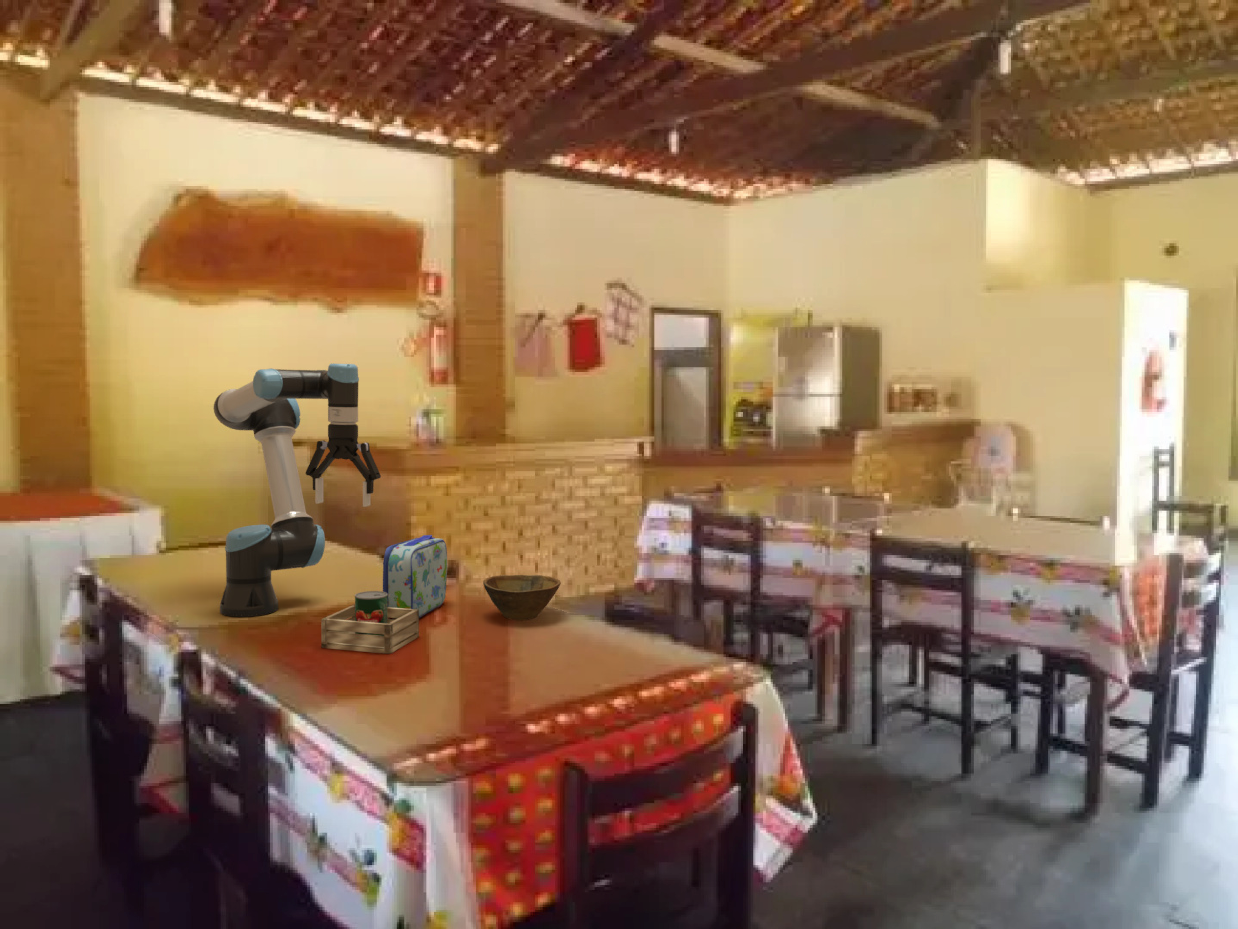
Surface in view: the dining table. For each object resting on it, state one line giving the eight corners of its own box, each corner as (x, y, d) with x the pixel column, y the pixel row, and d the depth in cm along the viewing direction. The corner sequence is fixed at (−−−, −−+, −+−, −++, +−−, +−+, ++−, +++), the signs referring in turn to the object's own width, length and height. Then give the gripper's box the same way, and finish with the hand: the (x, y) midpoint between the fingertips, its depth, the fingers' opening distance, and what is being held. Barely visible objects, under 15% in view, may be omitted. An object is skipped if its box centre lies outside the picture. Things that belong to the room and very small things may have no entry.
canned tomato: (358, 643, 229) (358, 599, 228) (351, 636, 236) (351, 592, 235) (391, 640, 233) (391, 596, 232) (383, 632, 240) (383, 589, 239)
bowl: (575, 612, 269) (576, 577, 268) (535, 630, 249) (536, 593, 248) (509, 603, 278) (510, 570, 278) (465, 620, 258) (465, 584, 257)
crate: (321, 647, 229) (321, 619, 228) (354, 631, 244) (354, 604, 244) (389, 653, 225) (389, 625, 224) (418, 636, 240) (418, 609, 240)
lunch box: (416, 600, 280) (417, 530, 278) (451, 602, 278) (451, 532, 276) (377, 621, 255) (377, 544, 253) (414, 624, 253) (414, 546, 251)
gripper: (291, 421, 244) (292, 503, 246) (380, 426, 239) (379, 509, 241) (307, 420, 252) (307, 499, 254) (393, 424, 246) (393, 505, 248)
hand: (342, 504), depth 247 cm, fingers open, 13 cm apart
